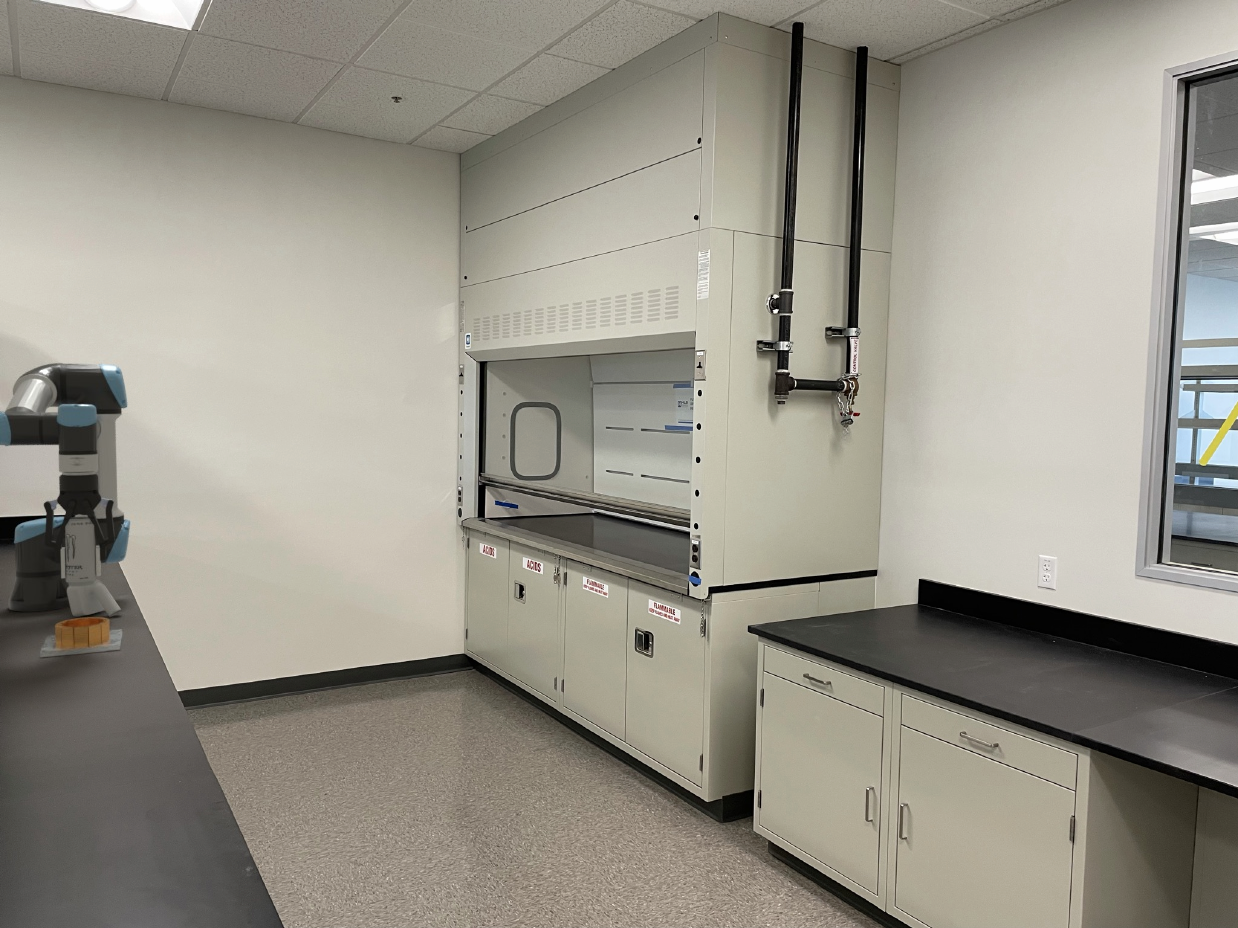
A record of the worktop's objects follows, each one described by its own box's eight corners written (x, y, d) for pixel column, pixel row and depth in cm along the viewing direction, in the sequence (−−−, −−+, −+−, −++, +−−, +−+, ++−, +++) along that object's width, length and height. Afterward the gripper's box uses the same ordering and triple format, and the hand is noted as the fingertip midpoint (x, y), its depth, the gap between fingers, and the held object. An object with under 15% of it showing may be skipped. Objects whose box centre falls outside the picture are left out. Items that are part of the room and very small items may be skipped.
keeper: (47, 640, 208) (47, 618, 208) (122, 634, 215) (121, 612, 214) (40, 657, 195) (39, 633, 194) (119, 649, 201) (119, 626, 201)
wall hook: (108, 618, 228) (99, 579, 227) (74, 625, 230) (65, 586, 230) (131, 611, 236) (123, 573, 235) (98, 618, 238) (90, 580, 238)
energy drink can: (59, 585, 202) (57, 518, 201) (84, 580, 207) (82, 515, 207) (79, 587, 200) (77, 520, 199) (103, 582, 205) (101, 517, 204)
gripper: (25, 475, 194) (29, 582, 196) (126, 473, 203) (129, 575, 204) (30, 473, 201) (33, 576, 203) (127, 471, 210) (130, 570, 211)
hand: (81, 575), depth 203 cm, fingers closed on energy drink can, 6 cm apart
